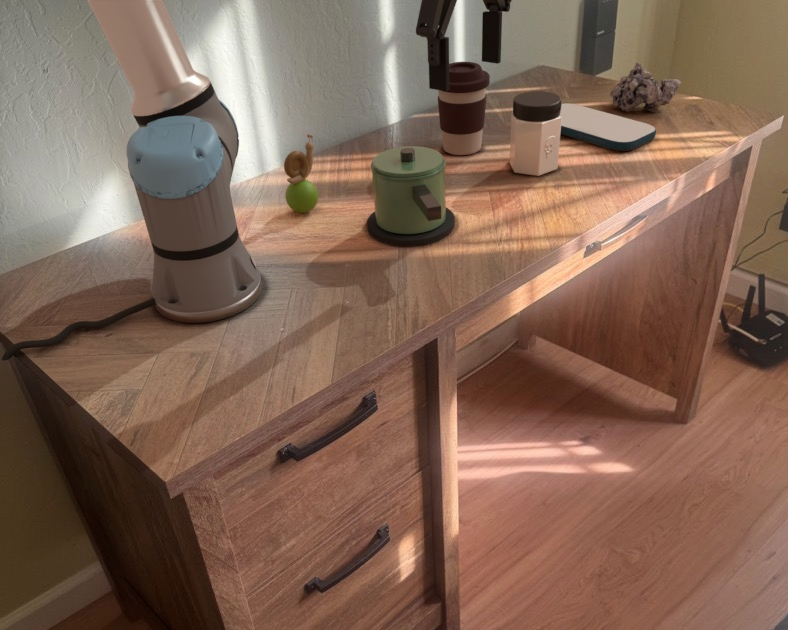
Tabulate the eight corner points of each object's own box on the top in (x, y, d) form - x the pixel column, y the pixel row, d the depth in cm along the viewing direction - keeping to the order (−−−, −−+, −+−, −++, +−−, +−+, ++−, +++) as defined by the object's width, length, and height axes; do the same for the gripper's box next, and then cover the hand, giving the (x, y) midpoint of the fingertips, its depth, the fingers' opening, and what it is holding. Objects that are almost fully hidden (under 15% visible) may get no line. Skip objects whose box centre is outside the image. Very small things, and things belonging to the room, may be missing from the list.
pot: (398, 263, 110) (393, 191, 104) (367, 209, 125) (361, 143, 118) (473, 249, 112) (473, 177, 105) (434, 197, 127) (432, 131, 120)
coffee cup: (497, 143, 147) (499, 61, 137) (473, 162, 140) (473, 77, 131) (451, 136, 151) (451, 56, 142) (426, 154, 145) (424, 71, 135)
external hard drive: (661, 138, 144) (663, 127, 143) (624, 156, 139) (625, 145, 137) (563, 110, 159) (564, 100, 157) (526, 125, 153) (526, 115, 152)
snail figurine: (331, 207, 129) (322, 137, 122) (302, 221, 126) (292, 150, 118) (309, 199, 132) (300, 130, 125) (281, 212, 129) (269, 142, 121)
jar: (529, 180, 133) (533, 110, 125) (499, 166, 138) (501, 98, 131) (567, 166, 136) (573, 98, 129) (536, 153, 142) (540, 87, 134)
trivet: (379, 252, 116) (379, 247, 115) (358, 214, 126) (358, 208, 126) (466, 236, 118) (466, 231, 118) (439, 200, 129) (439, 195, 128)
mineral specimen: (687, 92, 152) (664, 47, 148) (655, 119, 150) (631, 74, 147) (647, 106, 163) (625, 64, 160) (617, 131, 161) (594, 90, 158)
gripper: (436, -91, 83) (439, 106, 97) (543, -120, 98) (533, 54, 112) (381, -93, 87) (391, 97, 100) (492, -120, 102) (488, 48, 116)
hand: (466, 75), depth 106 cm, fingers open, 13 cm apart
